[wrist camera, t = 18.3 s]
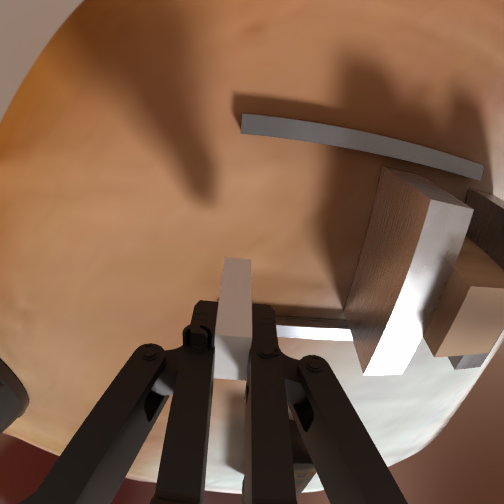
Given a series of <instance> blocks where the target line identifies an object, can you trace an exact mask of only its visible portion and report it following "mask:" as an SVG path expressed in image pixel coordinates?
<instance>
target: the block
mask: <svg viewBox="0 0 504 504" xmlns="http://www.w3.org/2000/svg"><path fill="white" fill-rule="evenodd" d="M503 328H504V270H503V269H502V268H501V267H500V266H499V265H498V264H497V263H496V262H495V261H494V260H492V259H491V258H490V257H489V256H488V255H487V254H486V253H485V252H484V251H483V250H482V249H480V248H479V247H478V246H477V245H476V244H475V243H474V242H473V241H471V240H470V239H469V238H468V237H467V236H465V238H464V241H463V244H462V247H461V250H460V252H459V255H458V258H457V260H456V263H455V266H454V268H453V271H452V273H451V276H450V278H449V280H448V283H447V285H446V288H445V290H444V292H443V295H442V297H441V299H440V301H439V304H438V306H437V308H436V310H435V312H434V314H433V316H432V319H431V321H430V323H429V325H428V327H427V329H426V331H425V333H424V335H423V337H424V339H425V341H426V343H427V345H428V347H429V349H430V350H431V352H432V354H433V356H434V357H447V356H460V355H472V354H482V353H489V351H490V350H491V348H492V346H493V345H494V343H495V341H496V340H497V338H498V336H499V335H500V333H501V331H502V329H503Z"/></svg>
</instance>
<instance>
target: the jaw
mask: <svg viewBox="0 0 504 504" xmlns="http://www.w3.org/2000/svg"><path fill="white" fill-rule="evenodd" d="M473 211H474V209H472V208H471V207H469V206H468V205H467V204H465V203H464V202H462V201H461V200H459V199H458V198H456V197H454V196H453V195H451V194H450V193H448V192H447V191H445V190H444V189H442V188H440V187H439V186H437V185H436V184H434V183H432V182H431V181H429V180H427V179H426V178H424V177H422V176H421V175H419V174H415V173H411V172H406V171H402V170H397V169H393V168H388V167H383V166H382V169H381V173H380V178H379V183H378V187H377V192H376V196H375V200H374V205H373V209H372V213H371V217H370V221H369V225H368V229H367V233H366V237H365V240H364V244H363V248H362V251H361V255H360V259H359V262H358V266H357V269H356V272H355V276H354V279H353V283H352V286H351V289H350V292H349V296H348V299H347V302H346V305H345V308H344V311H343V312H344V315H345V318H346V321H347V324H348V327H349V330H350V333H351V336H352V339H353V342H354V345H355V348H356V352H357V355H358V358H359V361H360V364H361V368H362V371H363V374H364V375H390V374H402V373H403V371H404V370H405V368H406V366H407V364H408V363H409V361H410V359H411V357H412V356H413V354H414V352H415V350H416V348H417V346H418V344H419V342H420V341H421V339H422V337H423V335H424V333H425V331H426V329H427V327H428V325H429V323H430V321H431V319H432V316H433V314H434V312H435V310H436V308H437V306H438V304H439V301H440V299H441V297H442V295H443V292H444V290H445V288H446V285H447V283H448V280H449V278H450V276H451V273H452V271H453V268H454V266H455V263H456V260H457V258H458V255H459V252H460V250H461V247H462V244H463V241H464V238H465V236H466V233H467V230H468V227H469V223H470V220H471V217H472V214H473Z"/></svg>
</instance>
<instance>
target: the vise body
mask: <svg viewBox="0 0 504 504" xmlns="http://www.w3.org/2000/svg"><path fill="white" fill-rule="evenodd" d="M241 133H242V134H252V135H261V136H270V137H278V138H286V139H294V140H301V141H308V142H314V143H321V144H327V145H333V146H338V147H344V148H349V149H355V150H360V151H365V152H370V153H375V154H379V155H384V156H389V157H393V158H398V159H402V160H406V161H410V162H414V163H418V164H422V165H426V166H430V167H434V168H437V169H441V170H445V171H448V172H452V173H455V174H459V175H462V176H465V177H469V178H472V179H475V180H478V181H481V178H482V174H483V170H484V166H483V165H481V164H479V163H476V162H474V161H471V160H468V159H465V158H462V157H459V156H456V155H453V154H449V153H446V152H443V151H440V150H436V149H433V148H429V147H426V146H422V145H419V144H415V143H411V142H408V141H404V140H400V139H396V138H392V137H388V136H384V135H379V134H375V133H370V132H366V131H361V130H356V129H351V128H346V127H341V126H336V125H330V124H324V123H318V122H312V121H306V120H299V119H292V118H285V117H277V116H269V115H260V114H250V113H243V114H242V123H241ZM465 204H467V205H468V206H469V207H471V208H472V209H474V211H473V214H472V217H471V220H470V223H469V227H468V230H467V233H466V236H467V237H468V238H469V239H470V240H471V241H473V242H474V243H475V244H476V245H477V246H478V247H479V248H480V249H482V250H483V251H484V252H485V253H486V254H487V255H488V256H489V257H490V258H491V259H492V260H494V261H495V262H496V263H497V264H498V265H499V266H500V267H501V268H502V269H503V270H504V201H503V200H501V199H499V198H498V197H496V196H494V195H492V194H489V193H485V192H482V191H479V190H475V189H472V188H469V191H468V194H467V198H466V202H465ZM275 320H276V329H277V337H289V338H306V339H325V340H353V339H352V336H351V333H350V330H349V327H348V324H347V321H346V320H333V319H316V318H301V317H288V316H275ZM503 329H504V328H503ZM503 329H502V331H503ZM502 331H501V333H502ZM501 333H500V335H501ZM500 335H499V336H500ZM499 336H498V338H499ZM498 338H497V340H498ZM497 340H496V341H497ZM496 341H495V343H496ZM495 343H494V345H495ZM494 345H493V346H494ZM493 346H492V348H493ZM492 348H491V349H492ZM490 351H491V350H490ZM490 351H489V353H490ZM489 353H482V354H472V355H460V356H448V358H449V360H450V362H451V364H452V366H453V367H454V369H455V370H458V369H466V368H474V367H480V366H481V365H482V363H483V362H484V360H485V359H486V357H487V356H488V354H489Z"/></svg>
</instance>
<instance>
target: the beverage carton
mask: <svg viewBox="0 0 504 504" xmlns="http://www.w3.org/2000/svg"><path fill="white" fill-rule="evenodd" d="M289 426H290V436H291V446H292V457H293V467H294V478H295V490H296V498H297V497H298V496H299V495H300V493H301V492H302V491H303V490H304V488H305V487H306V486H307V484H308V483H309V482H310V480H311V479H312V478H313V476H314V475H315V474H316V472H317V471H316V469H315V467H314V465H313V462H312V460H311V458H310V455H309V453H308V451H307V448H306V446H305V443H304V441H303V439H302V436H301V434H300V432H299V429H298V427H297V425H296V422H295V421H293V420H289ZM242 504H245V476H244V480H243V486H242Z"/></svg>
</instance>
